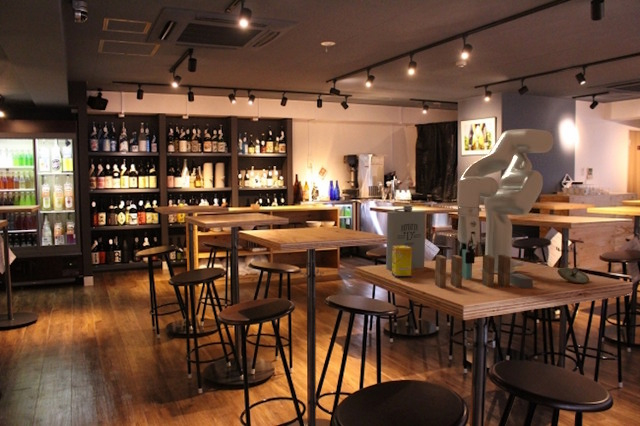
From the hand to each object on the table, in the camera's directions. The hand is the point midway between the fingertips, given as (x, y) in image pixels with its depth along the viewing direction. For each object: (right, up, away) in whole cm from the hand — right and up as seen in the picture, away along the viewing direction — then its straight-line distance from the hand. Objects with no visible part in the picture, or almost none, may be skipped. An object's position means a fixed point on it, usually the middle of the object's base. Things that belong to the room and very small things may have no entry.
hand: (466, 261), depth 190 cm
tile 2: (-7, -7, -13) cm, 17 cm away
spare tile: (0, -6, 0) cm, 6 cm away
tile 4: (+4, -7, -12) cm, 15 cm away
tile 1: (-13, -7, -14) cm, 20 cm away
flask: (-19, -5, +19) cm, 27 cm away
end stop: (+15, -7, -11) cm, 20 cm away
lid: (+37, -7, -4) cm, 37 cm away
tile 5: (+9, -7, -12) cm, 16 cm away
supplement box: (-23, -6, +2) cm, 24 cm away
